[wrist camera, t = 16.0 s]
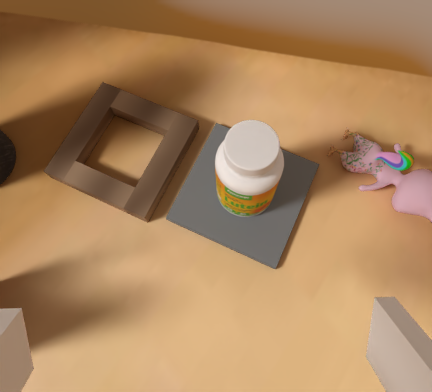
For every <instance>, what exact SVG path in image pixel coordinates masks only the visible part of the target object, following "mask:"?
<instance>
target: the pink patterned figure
mask: <svg viewBox="0 0 432 392" xmlns="http://www.w3.org/2000/svg"><path fill="white" fill-rule="evenodd" d="M348 135H352V136H354V146H353V152H345V151H343V150H338V149H334V147H333V145H332V144H331V145H332V147H331V148H330V151H329V153H328V154H329V155H327V156H331V155H332V154H333V152H334V151H336V152H338V153H339V154H340V156H341V160H342V165H343V167H344V168H345V169H347V170H348V171H350V172H355V173H366V174H371V175H373V176H374V177H375V178H376V179H377V182H376V183H374V184H372V185H360V186H359V190H360V191H371V190H376V189H379V188H383V187H385V186H387V185H389V184H393V185H395V186H396V192H395V193H394V195H393V197H392V206H393V208H394V209H395V210H396V211H397V212H402V213H407V214H412V215H419V216H423V217H426V218H427V219H429V220H430V221H431V222H432V172H431V171H430V170H428V169H418V170H414V171H412V172H410V173H408V174H406V175H403V174H402V173H401V171H403V170H407V169H409V168H410V167H411V166H412V165H413V163H414V158H413V156H412V155H410V154H409V153H407V152H404V151H401V146H400V144H398V143H397V144H395V145H394V149H395V152H396V153H393V152H383V150H382V148H381V147H380V146H379V145H378V144H377V143H375V142H373V141H369V140H367V139H365V138H363V137H361V136H360V135H359V133H357V132H349V130H348V128H347V130H346V131H345V134H344V138H343V139H341V140H344V139H346V138H347V137H348Z"/></svg>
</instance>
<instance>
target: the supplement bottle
mask: <svg viewBox="0 0 432 392" xmlns="http://www.w3.org/2000/svg"><path fill="white" fill-rule="evenodd" d="M283 168H284V157H283V153H282V150H281V148H280V142H279V138H278V136H277V134H276V132H275V131H274V130H273V129H272V128H271V127H270V126H269V125H268V124H266V123H264V122H261V121H257V120H245V121H242V122H239V123H237V124H235V125H234V126H233V127H232V128H231V129H230V130H229V131H228V132H227V134H226V136H225V140H224V141H223V142H222V143H221V145H220V146H219V148H218V150H217V153H216V157H215V174H216V189H217V196H218V199H219V201H220V203H221V204H222V206H223V207H224V208H225V209H226V210H227V211H228V212H230V213H232V214H234V215H236V216H241V217H251V216H255V215H258V214H260V213H261V212H263V211H264V210H265V209H266V208H267V207H268V206H269V205H270V203H271V201H272V199H273V196H274V194H275V191H276V188H277V186H278V183H279V181H280V178H281V175H282V172H283Z"/></svg>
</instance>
